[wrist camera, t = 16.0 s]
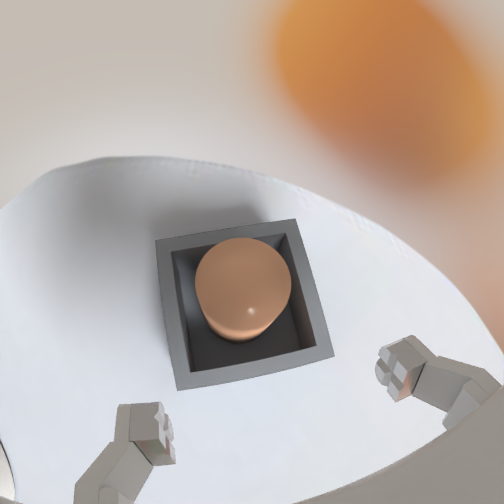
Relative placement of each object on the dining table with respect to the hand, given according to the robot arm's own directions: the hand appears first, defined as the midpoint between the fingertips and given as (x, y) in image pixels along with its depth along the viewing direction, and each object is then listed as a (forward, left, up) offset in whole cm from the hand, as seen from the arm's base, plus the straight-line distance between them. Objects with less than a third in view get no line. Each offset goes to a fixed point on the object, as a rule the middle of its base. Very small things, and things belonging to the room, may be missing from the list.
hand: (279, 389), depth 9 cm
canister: (0, +5, -12) cm, 13 cm away
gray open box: (0, +5, -13) cm, 14 cm away
